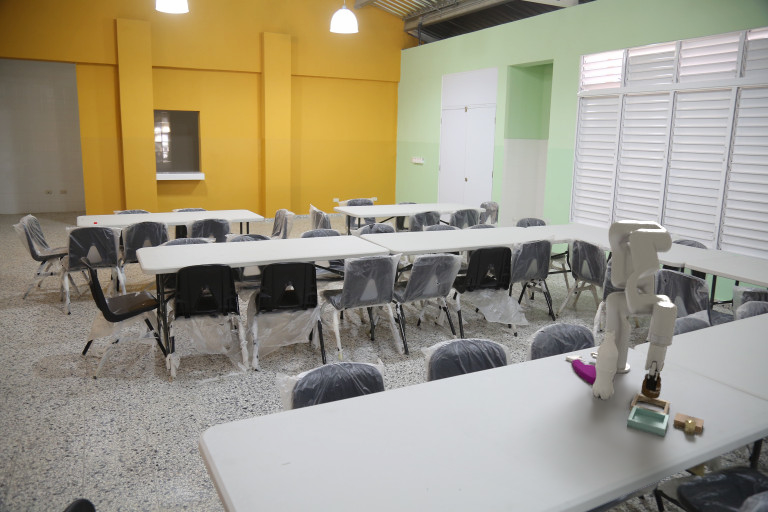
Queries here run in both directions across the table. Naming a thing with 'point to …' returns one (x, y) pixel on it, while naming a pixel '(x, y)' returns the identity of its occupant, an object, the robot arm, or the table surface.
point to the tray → (648, 421)
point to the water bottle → (606, 366)
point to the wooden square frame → (650, 400)
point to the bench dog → (689, 427)
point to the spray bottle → (583, 369)
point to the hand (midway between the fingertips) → (651, 385)
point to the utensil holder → (649, 392)
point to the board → (682, 418)
